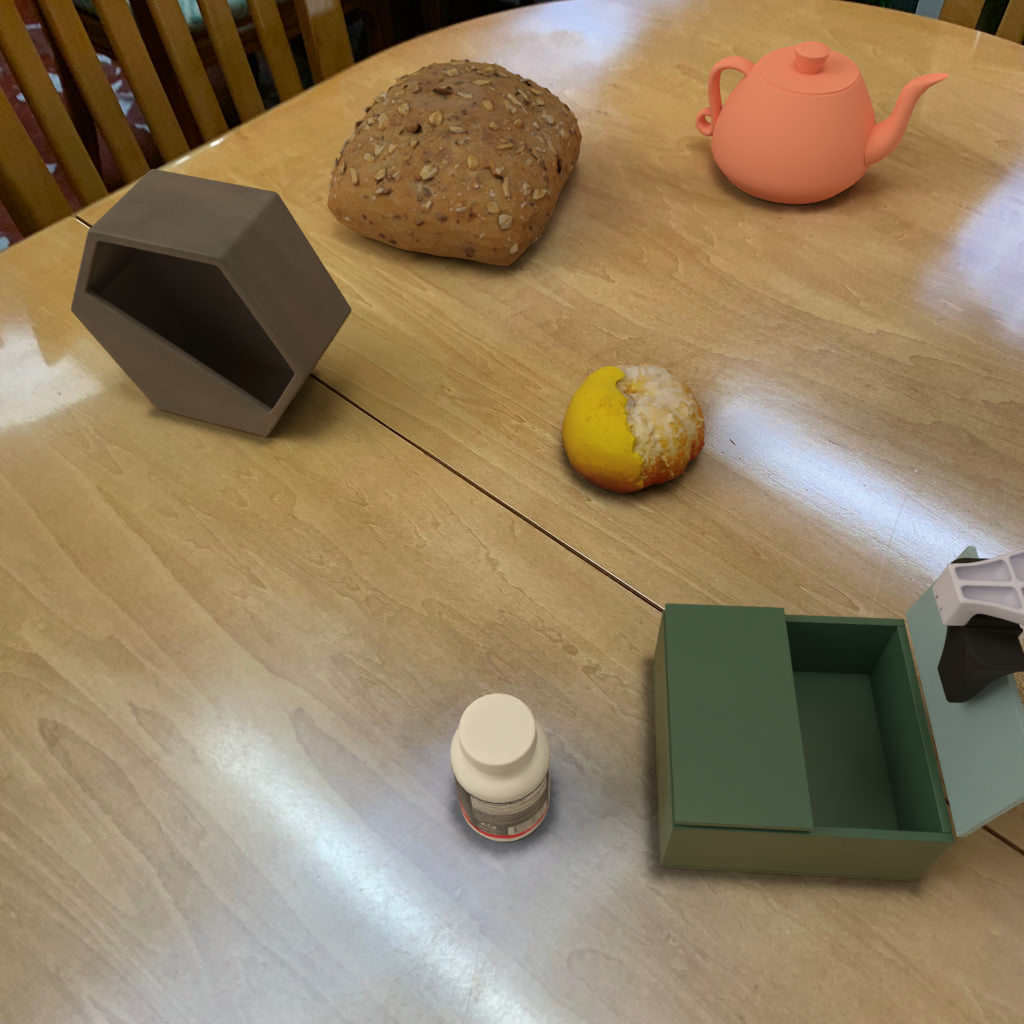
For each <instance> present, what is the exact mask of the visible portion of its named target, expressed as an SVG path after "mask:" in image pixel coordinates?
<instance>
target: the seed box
mask: <svg viewBox="0 0 1024 1024" xmlns="http://www.w3.org/2000/svg"><path fill="white" fill-rule="evenodd" d="M652 677H653V678H652V679H653V704H654V705H653V707H654V731H655V732H654V734H655V765H656V766H655V767H656V795H657V797H656V798H657V821H658V822H657V823H658V827H657V828H658V850H659V853H658V854H659V855H658V857H659V868H664V869H681V870H699V871H717V872H718V871H719V872H736V873H752V874H753V873H756V874H771V875H772V874H773V875H790V876H809V877H825V878H826V877H827V878H828V877H829V878H843V879H862V880H866V879H867V880H880V881H883V880H884V881H897V882H899V881H900V882H916V880H917V879H918V878H920V877H921V876H922V875H923V874H924V873H926V871H927V870H928V869H929V868H930V867H931V866H932V865H933V864H934V863H935V862H937V860H939V859H940V858H941V857H942V856H943V855H944V854H945V853H946V852H947V851H949V849H950V848H952V846H954V845H955V843H956V840H955V836H954V833H953V832H954V831H953V827H952V823H951V819H950V815H949V809H948V805H947V800H946V796H945V792H944V788H943V784H942V779H941V774H940V771H939V765H938V762H937V758H936V753H935V749H934V745H933V740H932V735H931V731H930V726H929V723H928V722H929V721H928V718H927V713H926V710H925V709H926V708H925V705H924V701H923V696H922V692H921V688H920V683H919V680H918V679H919V678H918V674H917V669H916V665H915V661H914V657H913V652H912V648H911V644H910V639H909V635H908V630H907V627H906V622H905V618H887V617H866V616H865V617H864V616H863V617H862V616H861V617H860V616H838V615H835V616H834V615H833V616H832V615H809V614H786V612H785V608H784V607H777V606H776V607H775V606H749V605H748V606H747V605H725V604H724V605H723V604H721V605H720V604H700V603H699V604H698V603H697V604H695V603H694V604H693V603H669V602H666V603H665V604H664V609H662V612H661V618H660V623H659V628H658V634H657V639H656V645H655V650H654V656H653V659H652Z"/></svg>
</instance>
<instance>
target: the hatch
mask: <svg viewBox="0 0 1024 1024" xmlns="http://www.w3.org/2000/svg"><path fill="white" fill-rule="evenodd" d="M958 558H980V557H979V554H978V551H977V547H976V546H975V545H967V546H966V547H965V549H964V550H963V551H962V552H960V554H959V555H958V556H957V557H956V558H955V559H954V560H956V559H958ZM939 577H940V575H939V576H938V578H939ZM936 581H937V579H935V580H934V581H933V583H932V584H931V585H930V586H929V587H928V588H927V589H926V590H925V592H923V593H922V594H921V595H920V597H918V599H917V600H916V601H915V602H914V603H913V604H912V605H911V606H910V607H909V608H908V609H907V611H906V612H905V617H906V621H907V625H908V630H909V635H910V639H911V643H912V647H913V652H914V656H915V659H916V666H917V670H918V673H919V678H920V682H921V687H922V691H923V695H924V701H925V704H926V708H927V713H928V717H929V721H930V725H931V731H932V735H933V739H934V743H935V748H936V751H937V752H936V753H937V756H938V761H939V764H940V765H939V766H940V768H941V774H942V778H943V781H944V786H945V790H946V795H947V799H948V804H949V808H950V812H951V816H952V817H951V818H952V820H953V821H952V822H953V825H954V829H955V832H956V837H958V838H966V837H968V836H969V835H970V834H972V833H974V832H975V831H977V830H979V829H981V828H982V827H984V826H985V825H987V824H989V823H990V822H992V821H994V820H995V819H997V818H998V817H1000V816H1002V815H1004V814H1005V813H1007V812H1009V811H1010V810H1012V809H1014V808H1016V807H1017V806H1019V805H1020V804H1022V803H1023V802H1024V704H1023V700H1022V697H1021V694H1020V692H1019V688H1018V684H1017V681H1016V677H1015V673H1013V674H1009V675H1006V676H1003V677H1001V678H999V679H997V680H995V681H993V682H991V683H990V684H989V685H987V686H986V687H985V688H984V689H983V690H981V691H980V692H979V693H978V694H977V695H976V696H974V697H973V698H972V699H970V700H968V701H966V702H963V703H949V702H948V701H947V700H946V697H945V694H944V690H943V687H942V683H941V680H940V677H939V673H938V670H937V667H938V664H939V661H940V658H941V655H942V652H943V648H944V644H945V639H946V633H947V625H944V624H943V622H942V619H941V616H940V613H939V610H938V607H937V604H936V601H935V596H934V593H933V590H932V587H933V585H934V584H935V582H936Z"/></svg>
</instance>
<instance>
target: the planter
mask: <svg viewBox="0 0 1024 1024" xmlns="http://www.w3.org/2000/svg"><path fill="white" fill-rule="evenodd" d="M76 278H77V279H76V282H75V287H74V291H73V297H72V301H71V305H70V311H71V313H72V314H73V315H74V317H76V319H78V321H79V322H80V323H81V324H82V325H83V327H84V328H85V329H86V330H87V331H88V332H89V334H90V335H92V337H93V338H94V339H95V340H96V341H97V342H98V343H99V345H100V346H101V347H102V349H104V350H105V351H106V353H107V354H108V355H109V356H110V357H111V358H112V360H113V361H114V362H115V363H116V364H117V365H118V366H119V368H121V370H122V371H123V372H124V373H125V375H126V376H127V377H128V378H129V379H130V380H131V381H132V382H133V383H134V384H135V386H136V387H137V388H138V389H139V390H140V391H141V392H142V394H143V395H144V396H145V397H146V398H147V399H148V400H149V401H150V403H151V404H152V405H153V406H154V407H155V408H156V409H158V410H160V411H163V412H166V413H171V414H174V415H179V416H181V417H186V418H190V419H194V420H198V421H202V422H206V423H208V424H209V423H210V424H213V425H217V426H222V427H225V428H230V429H233V430H237V431H242V432H245V433H249V434H252V435H257V436H261V437H265V438H266V437H268V436H269V435H270V434H271V432H272V431H273V429H274V428H275V426H276V425H277V424H278V422H279V421H280V419H281V418H282V416H283V415H284V413H285V412H286V411H287V409H288V407H290V405H291V403H292V402H293V400H294V399H295V397H297V395H298V393H299V392H300V390H301V389H302V387H303V386H304V384H305V383H306V381H307V380H308V378H310V375H311V374H312V372H313V371H314V369H316V367H317V366H318V363H319V362H320V360H321V359H322V357H323V356H324V355H325V353H326V351H327V350H328V348H329V347H330V345H331V344H332V342H333V341H334V340H335V338H336V336H337V334H338V333H339V331H340V330H341V328H342V327H343V326H344V324H345V322H346V321H347V320H348V318H349V316H350V314H351V312H352V307H351V306H350V304H349V302H348V301H347V299H346V298H345V296H344V294H343V293H342V292H341V290H340V289H339V286H338V285H337V283H336V282H335V281H334V279H333V278H332V276H331V274H330V273H329V270H327V268H326V266H325V265H324V263H323V262H322V260H321V258H320V257H319V255H318V254H317V252H316V251H315V248H314V247H313V246H312V244H311V243H310V241H309V240H308V237H306V235H305V233H304V232H303V230H302V229H301V227H300V226H299V223H298V222H297V220H296V219H295V218H294V216H293V214H292V213H291V211H290V210H289V208H288V206H287V205H286V203H285V202H284V200H283V199H282V197H281V195H280V194H279V193H278V192H276V191H273V190H269V189H264V188H263V189H262V188H257V187H252V186H247V185H241V184H236V183H231V182H225V181H220V180H215V179H211V178H210V179H209V178H204V177H199V176H194V175H189V174H183V173H177V172H174V171H173V172H172V171H166V170H161V169H156V168H152V169H149V171H148V172H146V174H144V175H143V176H142V177H141V178H140V179H139V180H138V181H137V182H136V183H135V184H134V185H133V186H132V187H131V188H130V189H129V190H128V191H127V192H126V193H125V194H123V196H122V197H120V199H118V201H117V202H116V203H114V204H113V205H112V207H110V208H109V209H108V210H107V211H106V212H105V213H104V214H103V215H102V216H101V217H100V218H99V219H98V220H97V221H96V222H95V223H94V224H93V225H92V226H91V227H89V229H88V231H87V233H86V237H85V242H84V246H83V251H82V256H81V261H80V264H79V269H78V274H77V277H76Z"/></svg>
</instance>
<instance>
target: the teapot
mask: <svg viewBox="0 0 1024 1024" xmlns="http://www.w3.org/2000/svg"><path fill="white" fill-rule="evenodd" d="M725 70H734V71H737V72H740V73H741V74H743V75H744V76H743V78H742V79H741V80H740V81H739V82H738V83H737V84H736V86H735V87H733V90H732V91H731V92H730V93H729V95H728V97H727V98H726V101H725V102H724V104H723V102H722V95H721V75H722V72H723V71H725ZM949 76H950V74H948V73H945V72H935V73H928V74H927V73H926V74H923V75H919V76H917V77H914V78H913V79H911V80H909V82H907V84H905V85H904V87H903V88H902V89H901V91H900V93H899V95H898V97H897V99H896V100H897V101H896V102H895V105H894V107H893V109H892V111H891V113H890V114H889V116H888V117H887V118H885V119H884V120H882V121H880V122H878V123H876V117H875V116H876V115H875V111H874V107H873V103H872V99H871V95H870V92H869V90H868V87H867V84H866V81H865V79H864V77H863V75H862V72H861V71H860V69H859V67H858V65H857V64H856V62H854V61H853V60H852V59H851V58H849V57H848V56H846V55H845V54H843V53H841V52H839V51H836V50H833V49H831V48H830V46H829V45H827V44H826V43H823V42H821V41H817V40H806V41H801V42H799V43H798V44H796V45H790V46H784V47H780V48H777V49H774V50H771V51H770V52H768V53H766V54H765V55H764V56H762V57H761V58H759V60H758V61H757V62H756V63H754V62H753V61H752V60H750V59H749V58H746V57H744V56H740V55H730V56H727V57H724V58H722V59H720V60H719V61H717V62H716V63H715V64H714V65H713V66H712V68H711V69H710V72H709V74H708V79H707V97H708V105H709V107H707V106H706V107H704V108H702V109H700V110H699V111H698V113H697V115H696V117H695V121H694V122H695V127H696V129H697V131H698V132H699V133H700V134H701V135H703V136H705V137H711V142H710V143H711V144H710V146H711V152H712V156H713V159H714V161H715V163H716V165H717V167H718V168H719V169H720V171H721V172H722V173H723V174H724V176H725V177H726V178H727V179H728V181H729V182H730V183H731V184H733V186H735V188H737V189H739V190H741V191H742V192H744V193H746V194H747V195H750V196H752V197H754V198H756V199H761V200H763V201H768V202H772V203H776V204H777V203H778V204H784V205H785V204H786V205H805V204H814V203H819V202H822V201H826V200H828V199H830V198H833V197H835V196H836V195H837V196H838V195H839V194H840V193H842V192H844V191H846V190H847V189H849V188H850V187H852V186H853V185H854V184H856V183H857V182H858V181H860V179H861V178H862V177H863V176H864V175H865V173H866V172H867V171H868V170H869V168H870V166H872V165H875V164H877V163H879V162H882V161H883V160H884V159H885V158H887V157H888V156H890V155H891V154H892V153H893V152H894V150H895V149H896V148H898V146H899V144H900V143H901V141H902V139H903V137H904V135H905V132H906V131H907V129H908V125H909V123H910V121H911V117H912V115H913V112H914V109H915V107H916V106H917V104H918V101H919V100H920V99H921V97H922V96H923V94H924V93H926V91H928V90H929V89H930V88H932V87H933V86H935V85H937V84H938V83H941V82H943V81H945V80H946V79H947V78H949ZM706 117H710V120H711V121H710V122H709V121H708V120H707V118H706Z"/></svg>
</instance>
